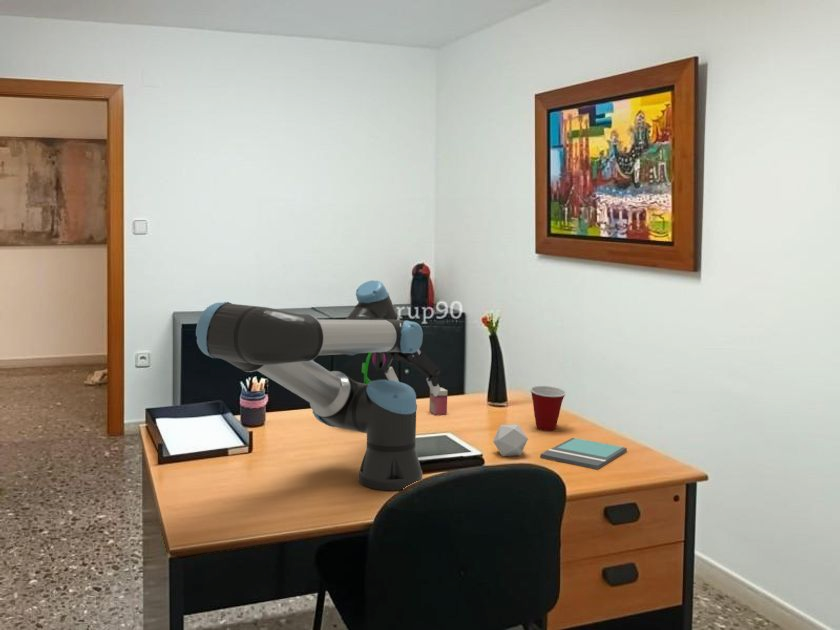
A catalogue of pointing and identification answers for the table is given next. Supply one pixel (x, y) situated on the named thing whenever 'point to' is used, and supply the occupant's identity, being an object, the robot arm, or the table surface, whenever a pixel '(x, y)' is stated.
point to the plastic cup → (547, 406)
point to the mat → (584, 453)
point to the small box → (438, 402)
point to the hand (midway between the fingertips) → (416, 390)
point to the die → (510, 440)
